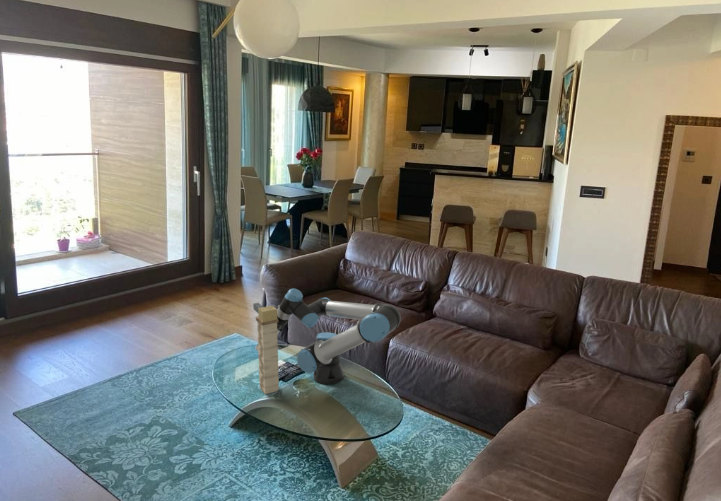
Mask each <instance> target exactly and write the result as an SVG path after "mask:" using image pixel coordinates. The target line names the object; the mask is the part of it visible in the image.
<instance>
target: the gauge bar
mask: <svg viewBox="0 0 721 501" xmlns="http://www.w3.org/2000/svg"><path fill="white" fill-rule="evenodd" d="M277 309H278V308H276V307H275V306H274V305H268V306H263V305H262V304H261V303H260V302H254V303H253V311H255V312H256V313H257V314H258V316H259V319H260V320H261V321H262V322H267V321H272V320H277ZM258 316H257V317H258Z"/></svg>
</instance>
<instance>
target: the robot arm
mask: <svg viewBox="0 0 721 501" xmlns="http://www.w3.org/2000/svg"><path fill="white" fill-rule="evenodd" d="M303 297H304V295H303V293H302V291H300V290H299V289H297V288H289V290H287V293H286V294H285V295H284V297H283V298H282V301H281V302H280V304H278V305H277V307H278V308H276V309H277V319H278V322H277V336H278V335H279V334H280V332H282V331H283V328H284V327H285V326H286V325H287V323H288V322H289V320H290V319H291V317H292V316H294V317H296V319H298V320H299V321H300V323H301V324H302V325H304V326H305V327H306V328H307V329H311V328H313V327H314V326H316V324H317V323H318V322H319V320H320V317H321V316H325V317H333V318H334V317H335V318H344V319H351V320H358V321H357V323H356V324H355V325H354V326H352V327H350V328H347V329H346V330H343V331H342V332H340V333H338V334H337V333H335V332H334V333H333V332H320V333H319V332H318V333H317V334H316V340H315V341H314V342H312V343H311V344H309V345H308V346H305V347H304V348H302V349H300V350H299V352H298V353H297V355H296V363H297V364H298V366H299V368H300V369H301V370H302V371H303V372H305V373H307V374H311V373H312V374H313V380H314V381H315V382H317V383H318V384H323V385H332V384H333V385H334V384H338V383H339V382H341V381H343V379H344V370H343V368H342V364H341V354H344V353H346V352H348V351H350V350H352V349H354V348H357V347H358V346H360V345H362V344H364V343H367V344H373V343H375V342H380V341H382V340H383V339H385V338H386V337H387V336H388V335H390V334H391V333H392V332H394V330H396V329H397V328H399V326H400V324H401V321H402V316H401V313H400V310H398V308H397V307H395V306H394V305H393V304H389V303H375V304H366V303H357V302H347V301H338V300H331V299H330V298H328V297H321V298H319V299H317V300H316V301H313V302H312V303H310V304H306V303H305V302H304V300H303ZM254 349H255V350H256V351H257V352H258V343H257V344H256V345H255V347H254Z"/></svg>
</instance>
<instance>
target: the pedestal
mask: <svg viewBox="0 0 721 501" xmlns="http://www.w3.org/2000/svg"><path fill="white" fill-rule="evenodd" d="M255 321H256V323H257V324H256V325H257V326H256V327H257V328H256V329H257V344H258V351H257V352H258V353H257V354H258V377H259V378H258V380H259V390H261V391H262V392H263V394H264V395H267V394H271V393H275V392H279V391H280V383H279V382H280V380H279V376H280V375H279V351H278V349H279V348H278V347H279V345H278V342H279V341H278V335H277V322H278V319H277V320H272V321H267V322H262V321H261V320H260V319H259V316H255ZM278 390H279V391H278Z"/></svg>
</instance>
